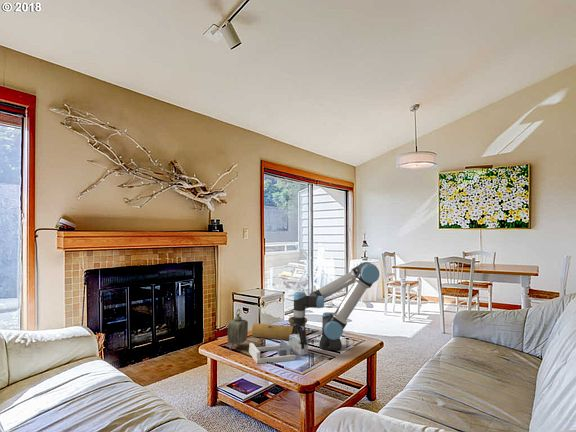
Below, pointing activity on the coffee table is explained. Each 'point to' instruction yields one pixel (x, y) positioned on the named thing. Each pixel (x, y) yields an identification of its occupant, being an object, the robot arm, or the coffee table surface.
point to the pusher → (284, 349)
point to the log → (272, 331)
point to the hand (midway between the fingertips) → (298, 350)
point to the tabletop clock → (237, 331)
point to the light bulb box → (297, 344)
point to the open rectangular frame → (256, 356)
